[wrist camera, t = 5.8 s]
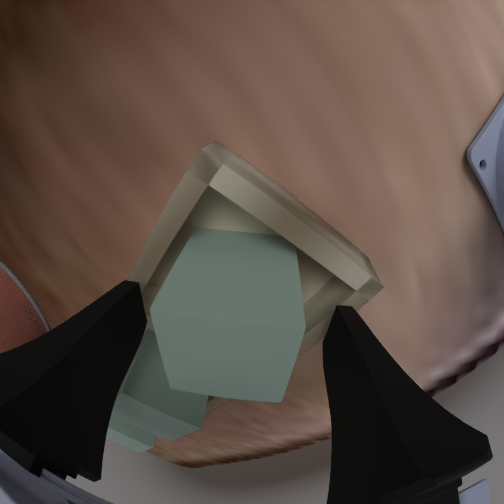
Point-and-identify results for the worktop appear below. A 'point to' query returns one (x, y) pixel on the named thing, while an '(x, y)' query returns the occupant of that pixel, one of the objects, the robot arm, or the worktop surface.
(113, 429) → the seated block
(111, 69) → the worktop surface
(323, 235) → the rack
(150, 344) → the seated block
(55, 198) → the worktop surface
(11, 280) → the canned food
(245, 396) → the loose block
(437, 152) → the worktop surface
